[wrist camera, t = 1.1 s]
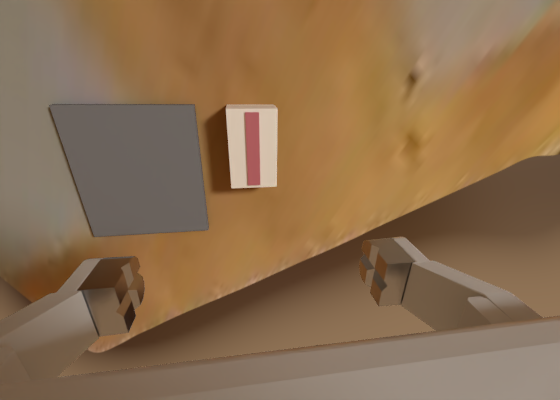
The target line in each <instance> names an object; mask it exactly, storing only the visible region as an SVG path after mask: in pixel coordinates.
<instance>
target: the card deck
mask: <svg viewBox="0 0 560 400" xmlns="http://www.w3.org/2000/svg"><path fill="white" fill-rule="evenodd" d="M277 111H278V108H277V107H276V106H275V105H227V106H226V120H227V134H228V148H229V162H230V176H231V188H254V187H277Z"/></svg>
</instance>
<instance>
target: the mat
mask: <svg viewBox="0 0 560 400" xmlns="http://www.w3.org/2000/svg"><path fill="white" fill-rule="evenodd" d="M49 107H50V109H51V112H52V115H53V118H54V121H55V124H56V127H57V130H58V133H59V136H60V139H61V142H62V144H63V147H64V150H65V153H66V156H67V159H68V162H69V165H70V168H71V171H72V174H73V177H74V179H75V182H76V185H77V188H78V191H79V194H80V197H81V200H82V203H83V206H84V209H85V211H86V214H87V217H88V220H89V223H90V226H91V229H92V232H93V235H94V237H100V236H117V235H134V234H151V233H168V232H185V231H202V230H208V229H209V225H208V217H207V208H206V199H205V191H204V182H203V173H202V165H201V156H200V148H199V139H198V130H197V122H196V113H195V105H194V104H52V105H49Z"/></svg>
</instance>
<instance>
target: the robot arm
mask: <svg viewBox="0 0 560 400" xmlns="http://www.w3.org/2000/svg"><path fill="white" fill-rule="evenodd" d="M362 251H363V253H364V256H363V257H362V258H361V259H360V265H359V270H360V275H361V278H362V280H363V282H364V283H365V284H366V285H367V286H369V287H371V290H370V293H371V295H372V296H373V298H374V300H375V301H376V303H377V304H378V306H388V305H402V306H403V307H404V308H405V309H407V310H408V311H410V312H411V313H412V314H414V315H415V316H416V317H418V318H419V319H421V320H422V321H423V322H425V323H426V324H428V325H429V326H430V327H432V328H433V329H435V330H436V331H431V332H423V333H416V334H407V335H399V336H391V337H383V338H375V339H366V340H358V341H350V342H341V343H333V344H325V345H316V346H308V347H300V348H293V349H284V350H276V351H268V352H260V353H251V354H243V355H235V356H227V357H219V358H212V359H203V360H195V361H187V362H179V363H170V364H162V365H154V366H146V367H138V368H130V369H122V370H113V371H106V372H97V373H89V374H81V375H73V376H65V377H57V376H59V375H60V374H61V373H62V372H63V371H64V370H65V369H66V368H67V367H68V366H69V365H70V364H72V363H73V362H74V361H75V360H76V359H77V358H78V357H79V356H80V355H81V354H82V353H83V352H85V351H86V350H87V349H88V348H89V347H90V346H91V345H92V344H93V343H94V342H95V341H96V340H97V339H99V337H100V336H108V335H115V334H123V333H128V332H129V330H130V328H131V326H132V323H133V321H134V319H135V317H136V314H135V311H134V310H135V309H136V308H137V307H139V306H140V305H141V303H142V300H143V297H144V290H145V287H144V280H143V277H142V276H141V275H140V274H139V273H137V272H138V270H139V268H140V264H139V261H138V258H137V257H135V256H131V257H111V258H94V259H87V260H84V261H83V262H82V263H81V265H80V266H79V267H78V268H77V269H76V270H75V271H74V273H73V274H72V275H71V276H70V277H69V278H68V280H67V281H66V282H65V283H64V284H63V285H62V287H61V288H60V289H59V290H58V291H57V292H56V293H50V294H48V295H47V296H45V297H43V298H41V299H39V300H37V301H36V302H34V303H32V304H30V305H28V306H26V307H25V308H23V309H21V310H19V311H17V312H15V313H13V314H12V315H10V316H8V317H6V318H4V319H2V320H1V321H0V400H560V316H553V317H545V318H542V317H541V316H540V315H539V314H537V313H536V312H535V311H533V310H532V309H531V308H530V307H528V306H527V305H526V304H525V303H523V302H522V301H521V300H520V299H518V298H517V297H516V296H514V295H513V294H512V293H511V292H508V291H506V290H504V289H501V288H499V287H496V286H494V285H491V284H489V283H487V282H484V281H481V280H479V279H477V278H474V277H472V276H470V275H467V274H465V273H462V272H460V271H457V270H455V269H453V268H450V267H448V266H445V265H443V264H440V263H438V262H436V261H429V260H428V259H427V258H426V257H425V256H424V255H423V254H422V253H421V252H420V251H419V250H418V249H416V247H414V246H413V245H412V244H411V243H410V242H409V241H408V240H407V239H406V238H404V237H394V238H386V239H374V240H365V241H364V242H363V245H362Z"/></svg>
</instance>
